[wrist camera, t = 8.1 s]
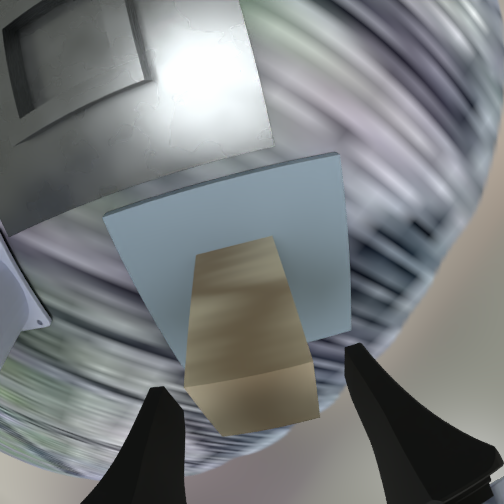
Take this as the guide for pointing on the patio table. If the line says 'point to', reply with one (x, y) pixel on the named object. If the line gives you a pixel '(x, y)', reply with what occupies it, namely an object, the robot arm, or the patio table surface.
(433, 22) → the patio table surface
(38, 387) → the patio table surface
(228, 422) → the peg
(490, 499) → the robot arm
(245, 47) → the socket base
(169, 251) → the board
